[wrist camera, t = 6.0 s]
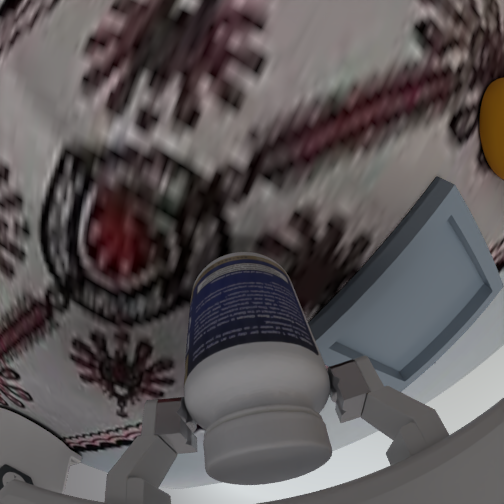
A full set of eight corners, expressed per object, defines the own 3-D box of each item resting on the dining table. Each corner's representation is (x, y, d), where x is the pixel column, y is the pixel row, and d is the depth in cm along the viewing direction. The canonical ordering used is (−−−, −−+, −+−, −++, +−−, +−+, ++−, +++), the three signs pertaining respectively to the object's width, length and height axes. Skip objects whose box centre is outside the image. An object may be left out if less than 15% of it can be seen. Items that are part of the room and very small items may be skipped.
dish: (393, 379, 28) (400, 392, 26) (294, 336, 22) (300, 354, 20) (492, 276, 23) (503, 286, 21) (436, 176, 17) (454, 184, 15)
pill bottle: (171, 277, 15) (142, 458, 6) (265, 230, 14) (332, 406, 5) (223, 342, 17) (236, 497, 8) (304, 306, 17) (365, 458, 8)
